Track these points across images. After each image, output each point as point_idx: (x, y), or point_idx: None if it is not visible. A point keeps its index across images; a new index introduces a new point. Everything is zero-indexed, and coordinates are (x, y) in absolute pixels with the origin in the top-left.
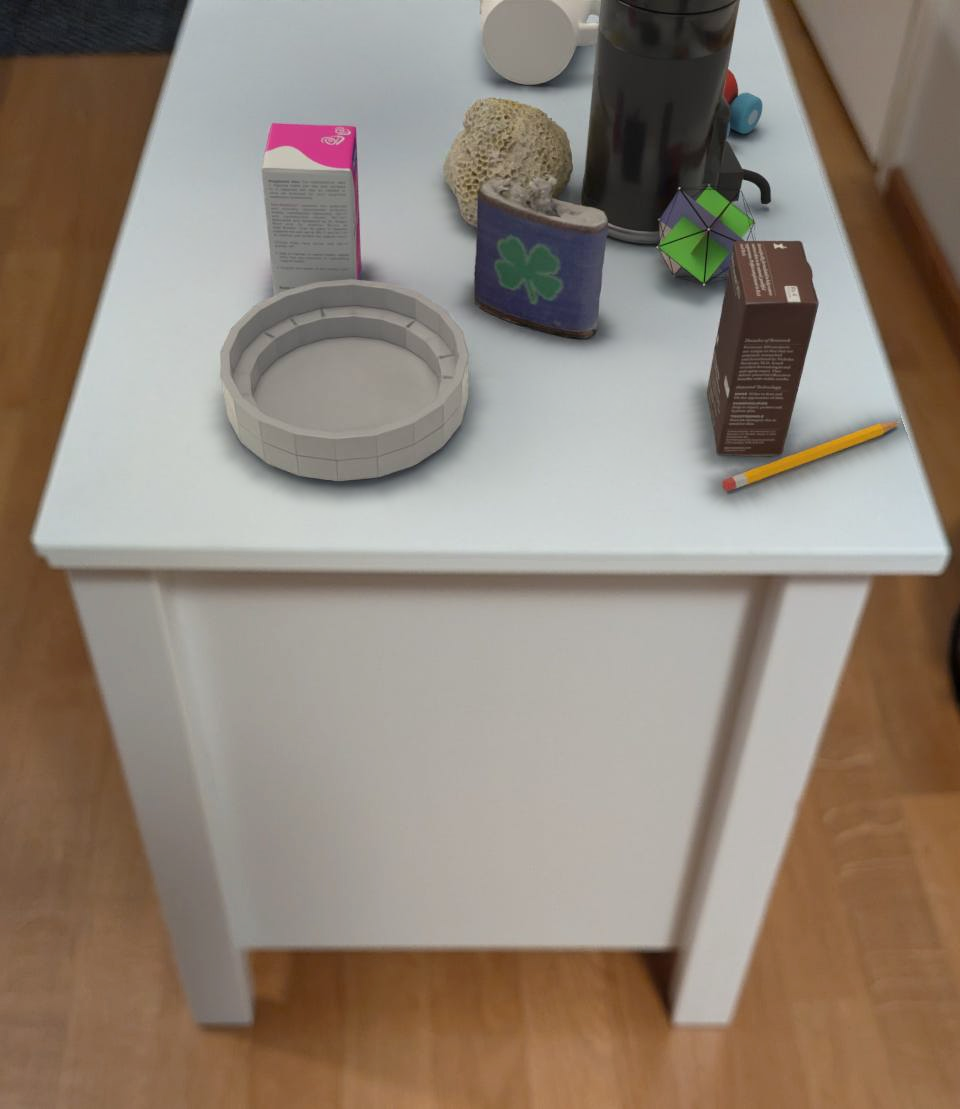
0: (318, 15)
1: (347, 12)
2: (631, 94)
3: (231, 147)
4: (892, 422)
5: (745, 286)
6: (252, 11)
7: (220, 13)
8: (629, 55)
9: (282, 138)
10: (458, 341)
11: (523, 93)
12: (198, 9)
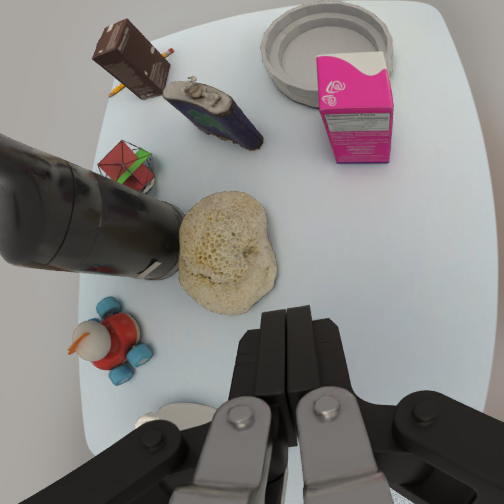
0: None
1: None
2: (111, 180)
3: (445, 326)
4: (109, 95)
5: (123, 25)
6: None
7: None
8: (94, 174)
9: (377, 84)
10: (264, 54)
11: (214, 397)
12: None
